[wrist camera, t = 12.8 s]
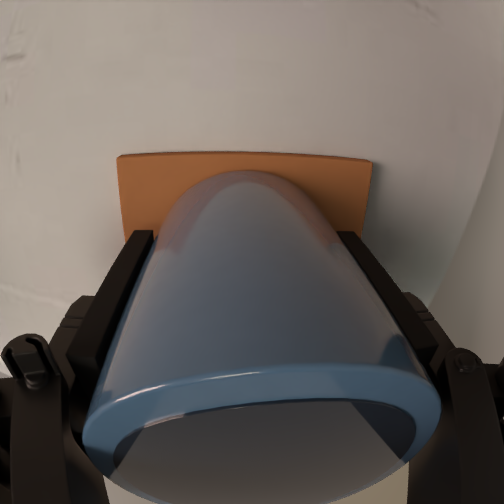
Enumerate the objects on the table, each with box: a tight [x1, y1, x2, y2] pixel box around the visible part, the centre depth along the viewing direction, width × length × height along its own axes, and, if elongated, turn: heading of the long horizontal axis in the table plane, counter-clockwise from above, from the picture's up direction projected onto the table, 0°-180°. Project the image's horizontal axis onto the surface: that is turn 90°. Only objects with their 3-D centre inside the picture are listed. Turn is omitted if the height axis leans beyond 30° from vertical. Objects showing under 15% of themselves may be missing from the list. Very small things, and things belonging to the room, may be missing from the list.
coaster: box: [116, 152, 373, 242], centre depth 13 cm, size 10×8×1 cm
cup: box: [82, 171, 442, 504], centre depth 9 cm, size 7×7×9 cm
